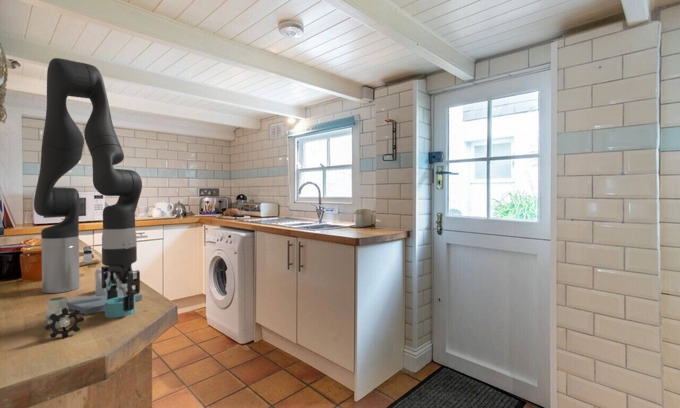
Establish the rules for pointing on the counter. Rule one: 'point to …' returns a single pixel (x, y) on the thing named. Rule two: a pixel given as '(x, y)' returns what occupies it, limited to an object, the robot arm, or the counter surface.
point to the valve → (61, 317)
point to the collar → (116, 308)
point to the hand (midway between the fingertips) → (120, 307)
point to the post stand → (95, 298)
